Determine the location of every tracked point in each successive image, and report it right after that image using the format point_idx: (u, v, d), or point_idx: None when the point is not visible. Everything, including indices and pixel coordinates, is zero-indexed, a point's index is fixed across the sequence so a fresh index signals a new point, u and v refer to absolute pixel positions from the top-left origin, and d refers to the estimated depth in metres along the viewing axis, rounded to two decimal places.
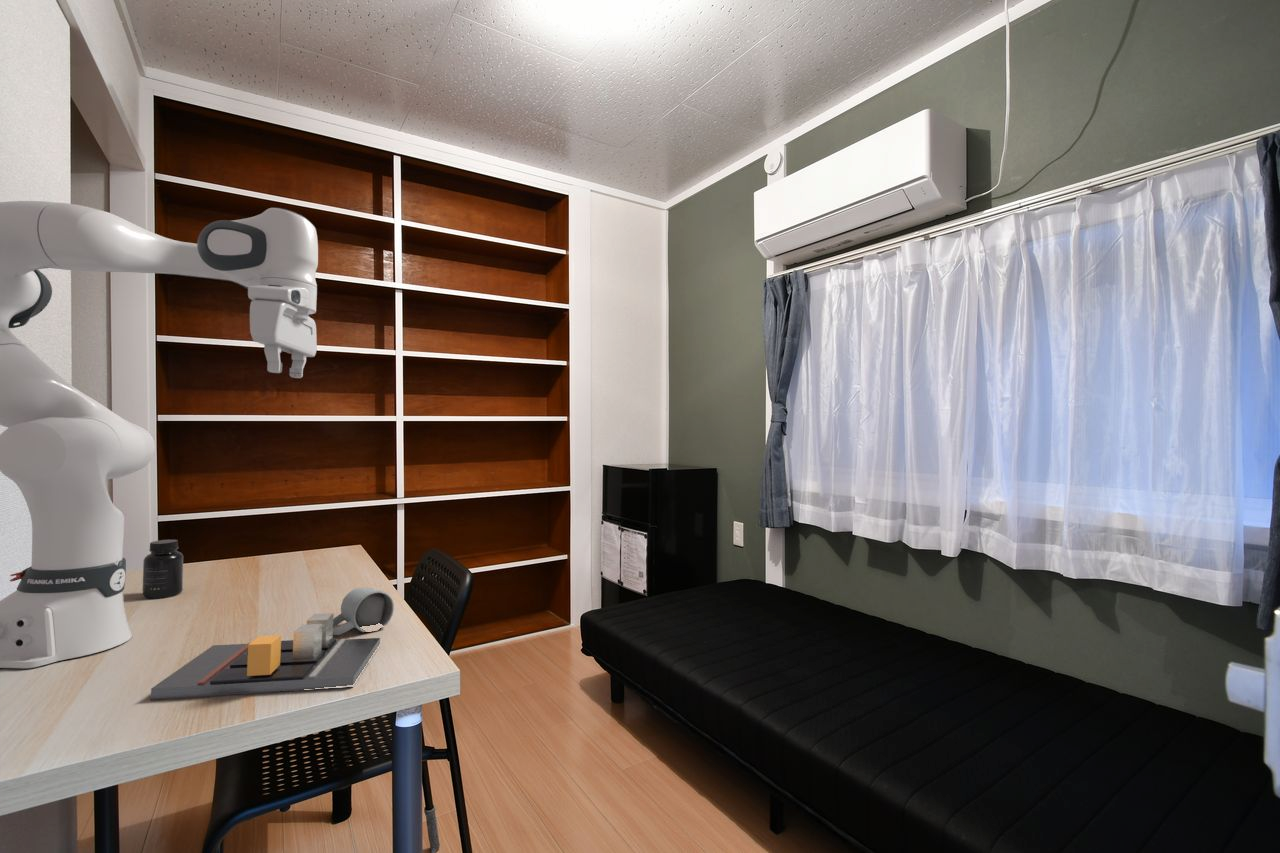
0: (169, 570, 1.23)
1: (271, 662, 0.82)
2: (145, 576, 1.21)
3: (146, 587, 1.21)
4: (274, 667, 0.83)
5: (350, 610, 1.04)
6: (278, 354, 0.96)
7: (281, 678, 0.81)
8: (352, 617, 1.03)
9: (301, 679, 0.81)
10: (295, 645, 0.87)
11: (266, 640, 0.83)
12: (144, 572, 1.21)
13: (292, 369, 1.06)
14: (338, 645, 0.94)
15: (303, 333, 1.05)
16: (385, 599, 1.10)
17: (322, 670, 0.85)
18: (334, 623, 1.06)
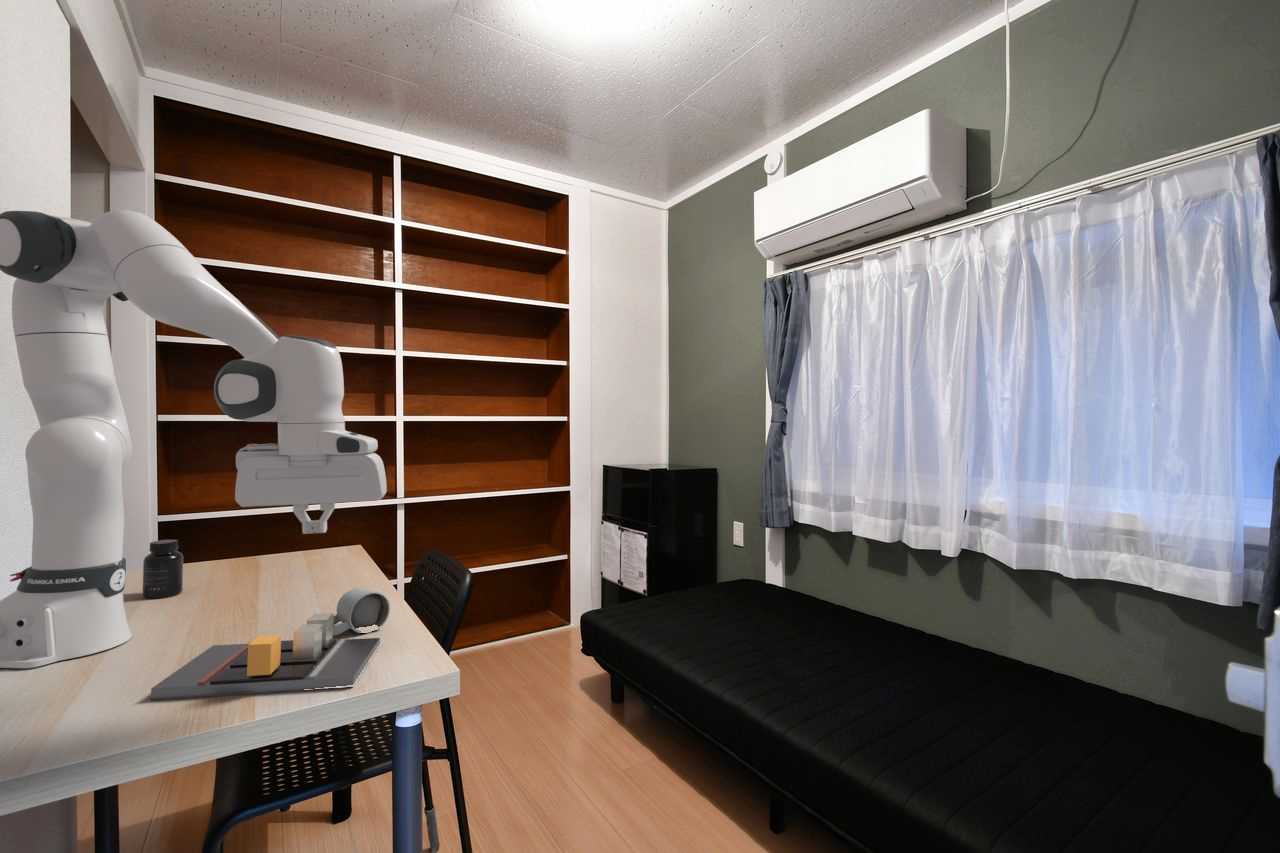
0: (169, 570, 1.23)
1: (271, 662, 0.82)
2: (145, 576, 1.21)
3: (146, 587, 1.21)
4: (274, 667, 0.83)
5: (346, 611, 1.04)
6: (330, 511, 0.86)
7: (281, 678, 0.81)
8: (348, 618, 1.03)
9: (301, 679, 0.81)
10: (295, 645, 0.87)
11: (266, 640, 0.83)
12: (144, 572, 1.21)
13: None
14: (338, 645, 0.94)
15: None
16: (381, 600, 1.09)
17: (322, 670, 0.85)
18: None
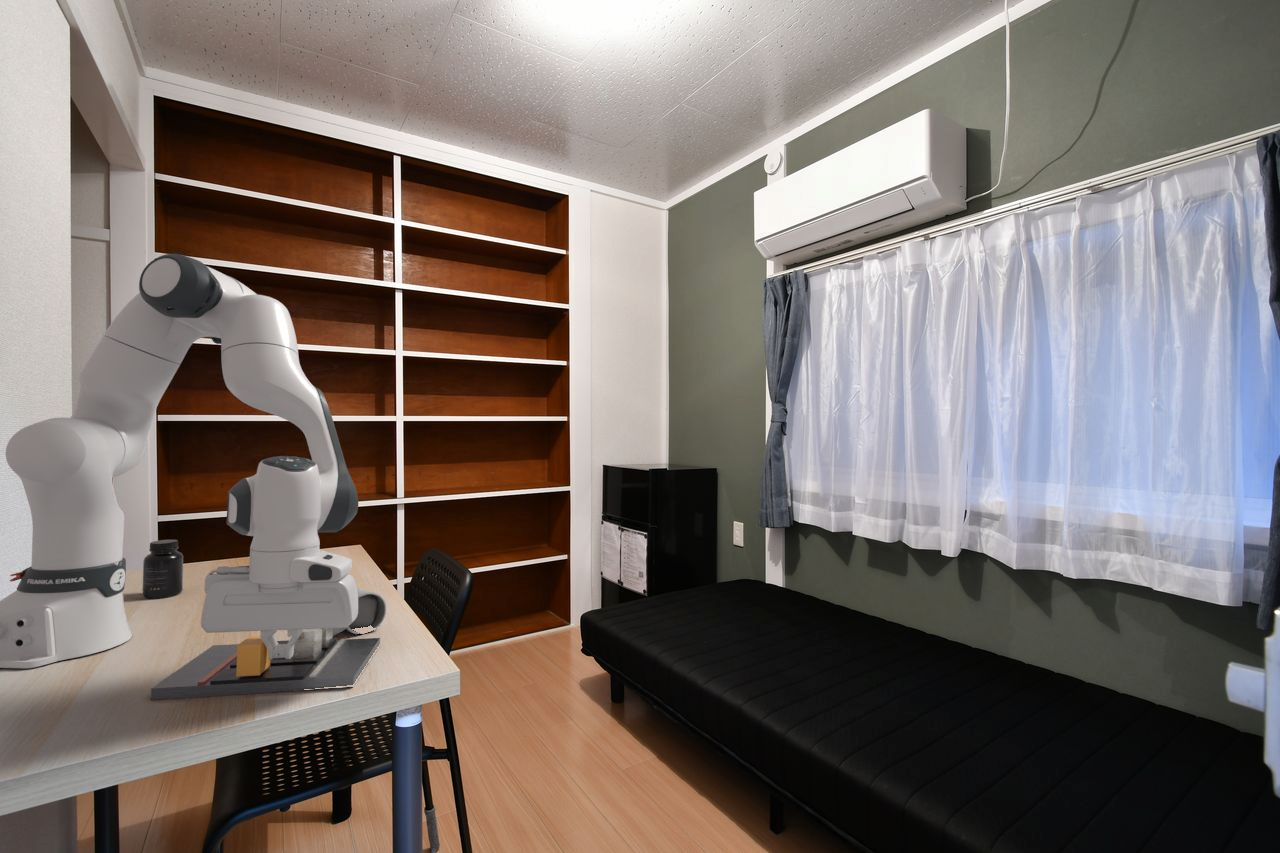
0: (169, 570, 1.23)
1: (261, 663, 0.81)
2: (145, 576, 1.21)
3: (146, 587, 1.21)
4: (264, 668, 0.82)
5: None
6: None
7: (281, 678, 0.81)
8: None
9: (301, 679, 0.81)
10: (295, 645, 0.87)
11: (255, 640, 0.82)
12: (144, 572, 1.21)
13: None
14: (338, 645, 0.94)
15: None
16: (377, 600, 1.09)
17: (322, 670, 0.85)
18: None
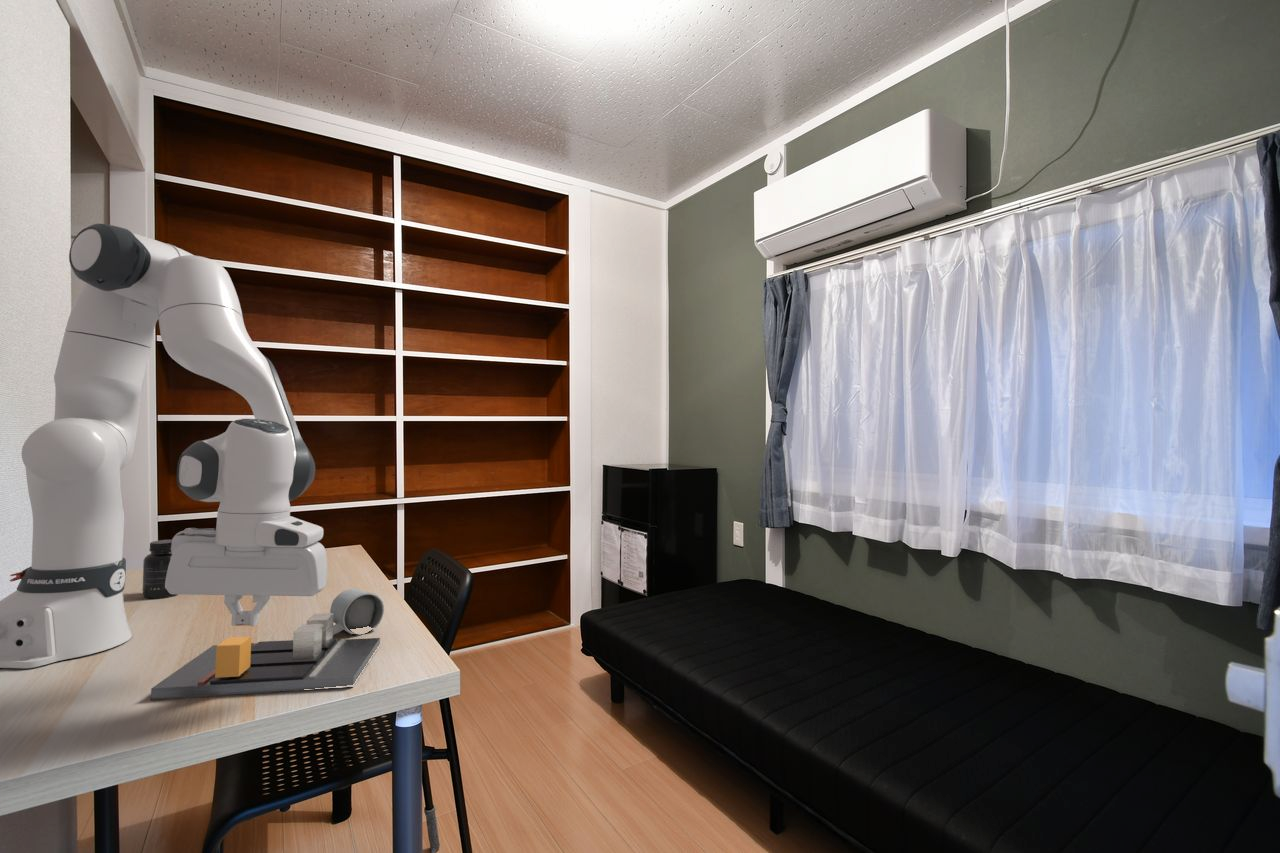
0: None
1: (240, 664, 0.81)
2: (145, 576, 1.21)
3: (146, 587, 1.21)
4: (243, 669, 0.82)
5: (339, 612, 1.03)
6: None
7: (281, 678, 0.81)
8: (341, 619, 1.02)
9: (301, 679, 0.81)
10: (295, 645, 0.87)
11: (235, 641, 0.82)
12: (144, 572, 1.21)
13: None
14: (338, 645, 0.94)
15: None
16: (375, 601, 1.09)
17: (322, 670, 0.85)
18: None
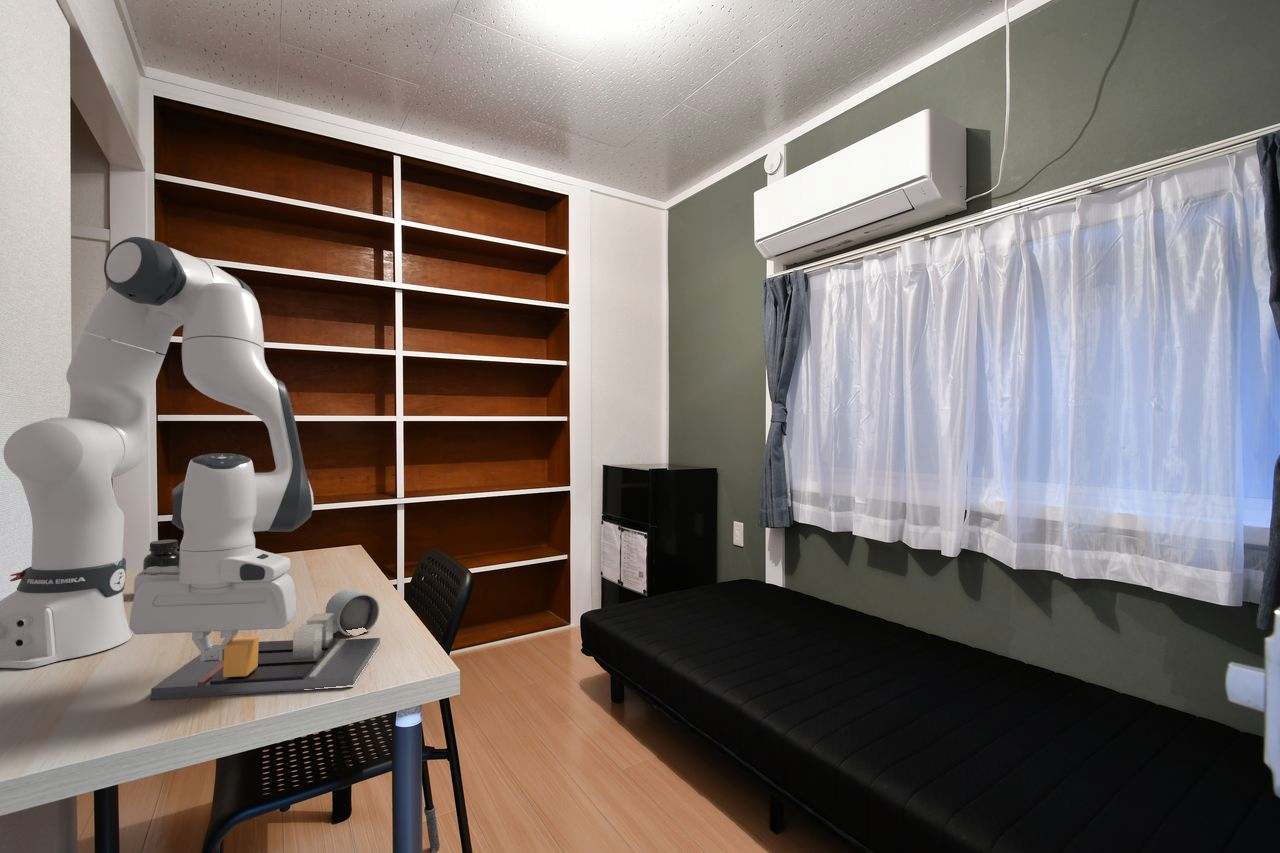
0: None
1: (248, 664, 0.81)
2: None
3: None
4: (251, 668, 0.82)
5: (334, 613, 1.02)
6: None
7: (281, 678, 0.81)
8: (336, 620, 1.01)
9: (301, 679, 0.81)
10: (295, 645, 0.87)
11: (243, 641, 0.82)
12: None
13: None
14: (338, 645, 0.94)
15: None
16: (371, 602, 1.08)
17: (322, 670, 0.85)
18: None
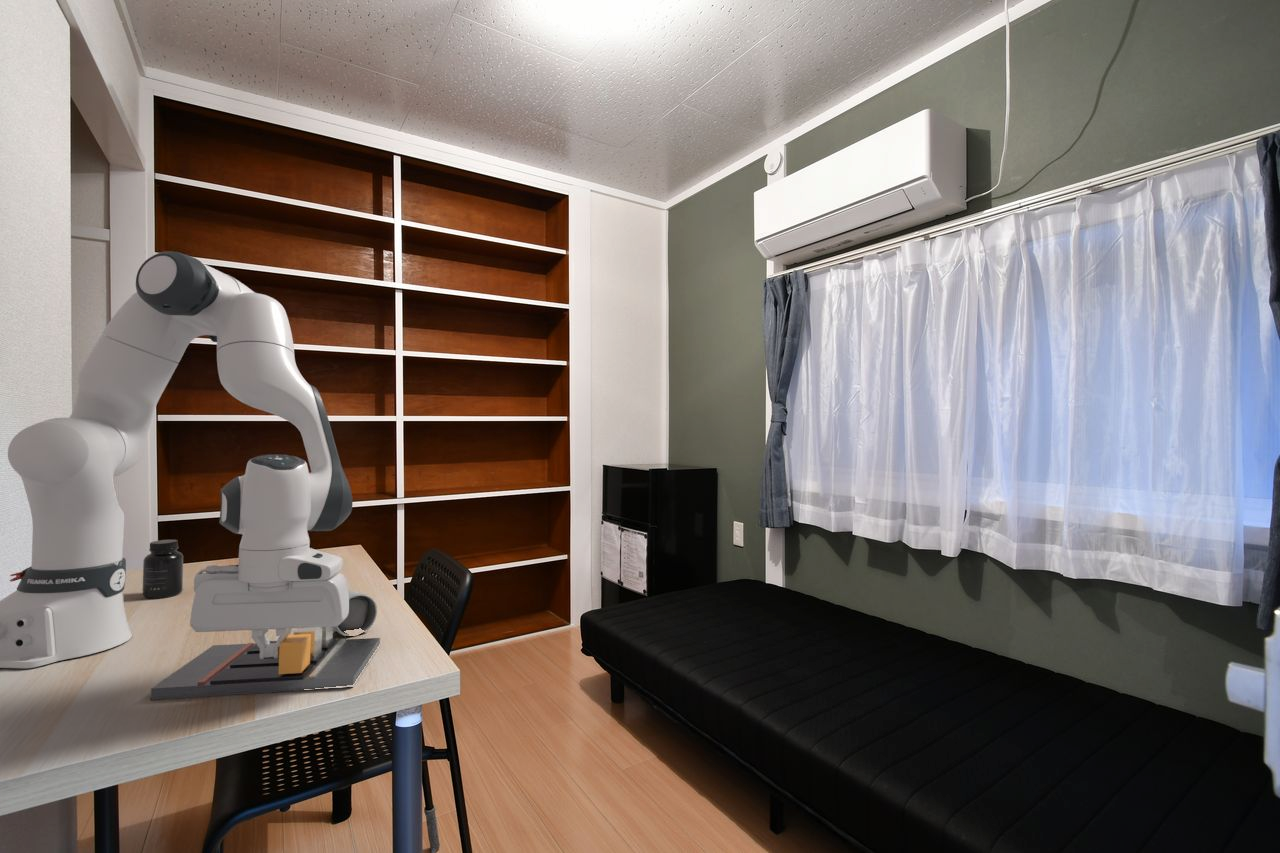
0: (169, 570, 1.23)
1: (302, 661, 0.83)
2: (145, 576, 1.21)
3: (146, 587, 1.21)
4: (304, 665, 0.84)
5: None
6: None
7: (281, 678, 0.81)
8: None
9: (301, 679, 0.81)
10: None
11: (296, 639, 0.83)
12: (144, 572, 1.21)
13: None
14: (338, 645, 0.94)
15: None
16: (368, 602, 1.08)
17: (322, 670, 0.85)
18: None
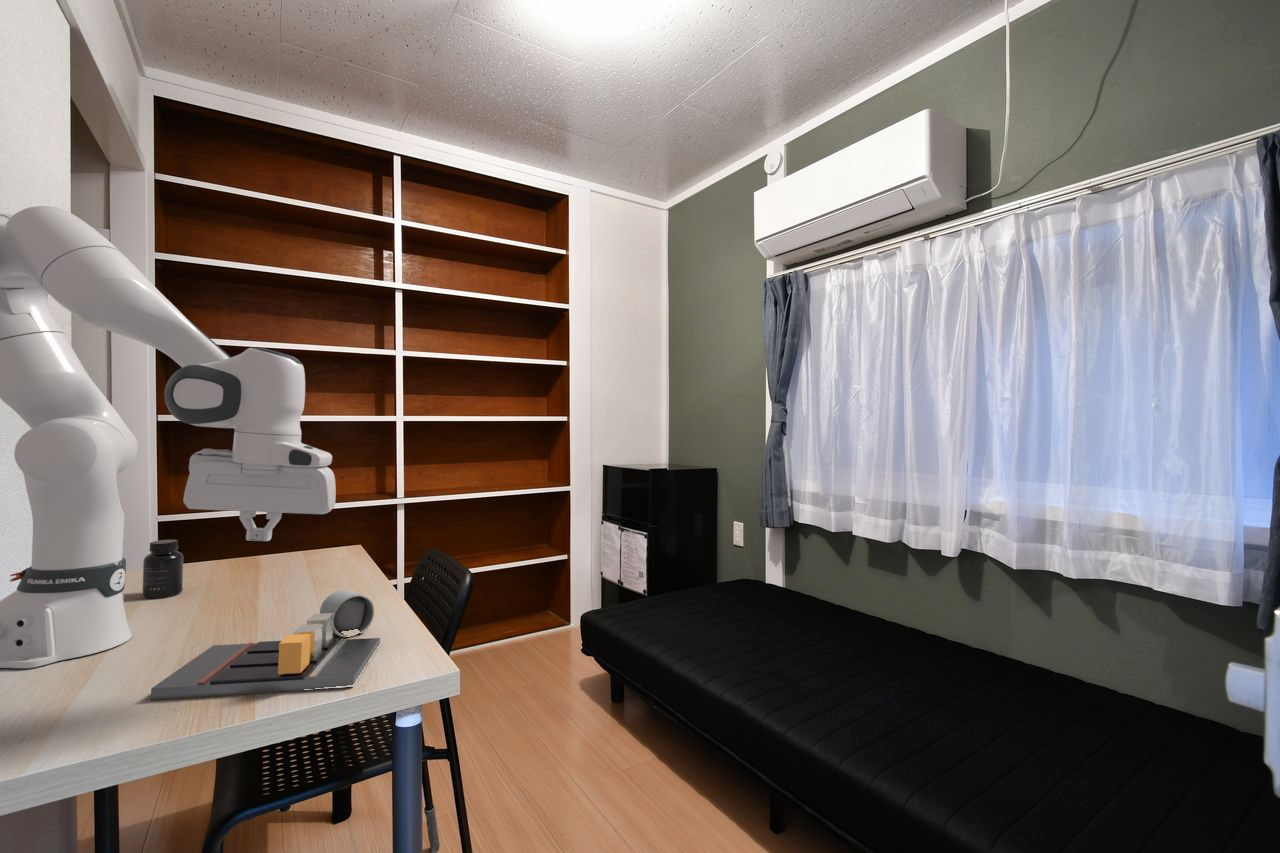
0: (169, 570, 1.23)
1: (302, 661, 0.83)
2: (145, 576, 1.21)
3: (146, 587, 1.21)
4: (304, 665, 0.84)
5: None
6: None
7: (281, 678, 0.81)
8: None
9: (301, 679, 0.81)
10: None
11: (296, 639, 0.83)
12: (144, 572, 1.21)
13: None
14: (338, 645, 0.94)
15: None
16: (365, 603, 1.07)
17: (322, 670, 0.85)
18: None
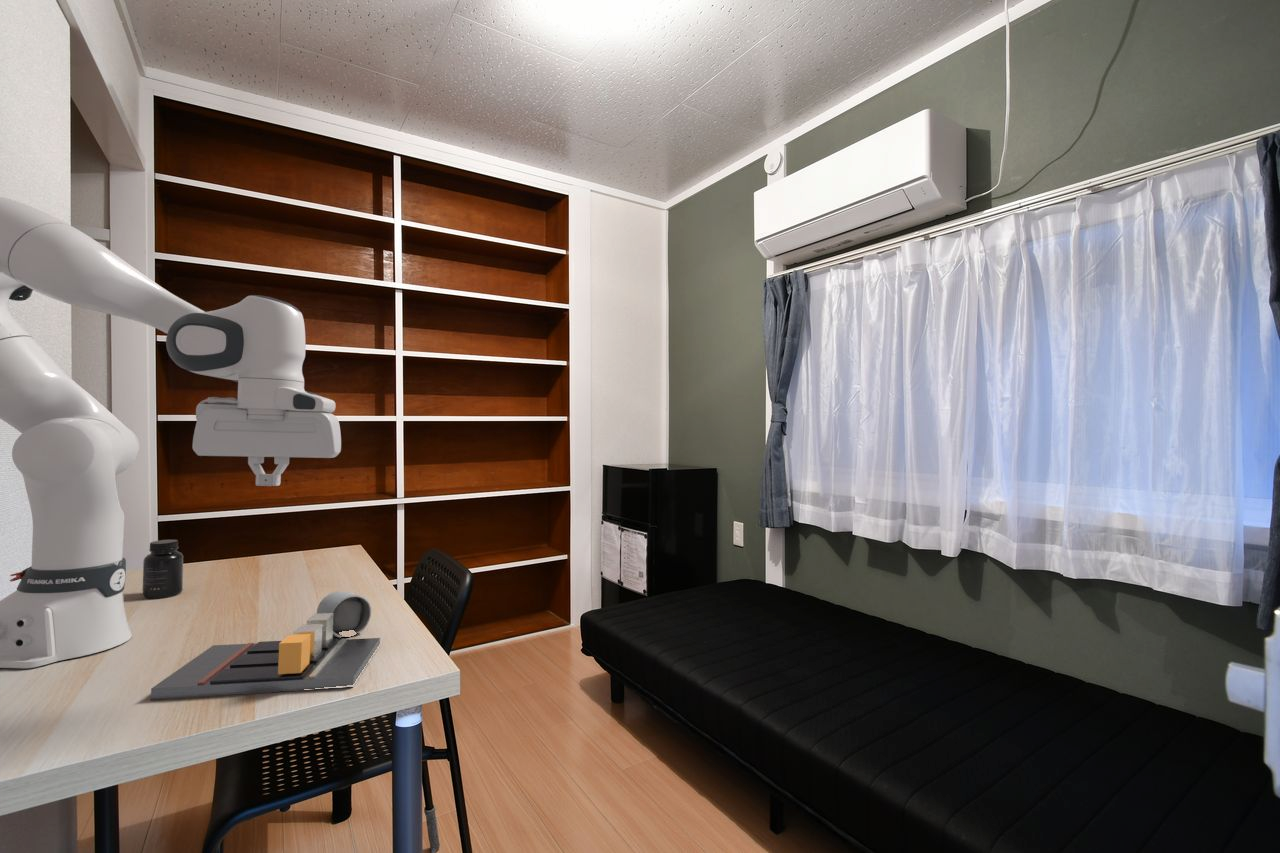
0: (169, 570, 1.23)
1: (302, 661, 0.83)
2: (145, 576, 1.21)
3: (146, 587, 1.21)
4: (304, 665, 0.84)
5: None
6: None
7: (281, 678, 0.81)
8: None
9: (301, 679, 0.81)
10: None
11: (296, 639, 0.83)
12: (144, 572, 1.21)
13: None
14: (338, 645, 0.94)
15: None
16: (362, 603, 1.07)
17: (322, 670, 0.85)
18: None
